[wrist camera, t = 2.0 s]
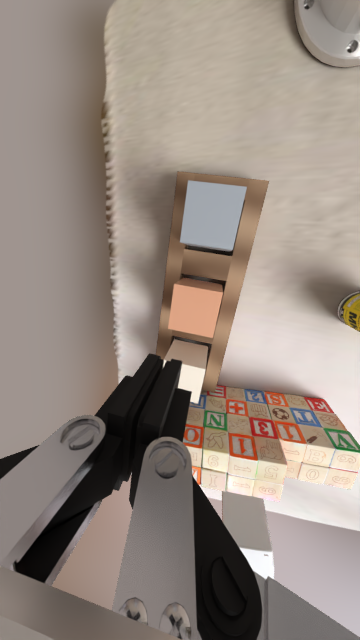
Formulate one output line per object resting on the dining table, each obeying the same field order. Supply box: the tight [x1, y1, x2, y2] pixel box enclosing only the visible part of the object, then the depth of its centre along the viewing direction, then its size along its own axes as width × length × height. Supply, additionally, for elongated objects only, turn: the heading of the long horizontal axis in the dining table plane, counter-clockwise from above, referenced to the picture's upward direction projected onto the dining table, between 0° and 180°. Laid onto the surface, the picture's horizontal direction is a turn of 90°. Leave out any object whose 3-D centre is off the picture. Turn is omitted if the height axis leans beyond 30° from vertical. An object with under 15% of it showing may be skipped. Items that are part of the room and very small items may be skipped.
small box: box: [222, 491, 274, 579], centre depth 32 cm, size 8×6×13 cm
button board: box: [156, 171, 269, 393], centre depth 27 cm, size 28×10×3 cm, turn 172°
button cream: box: [163, 339, 208, 403], centre depth 26 cm, size 5×5×6 cm
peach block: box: [168, 278, 223, 338], centre depth 23 cm, size 5×5×6 cm
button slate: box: [180, 180, 247, 251], centre depth 20 cm, size 5×5×6 cm
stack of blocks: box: [183, 385, 360, 502], centre depth 27 cm, size 21×6×12 cm, turn 90°
